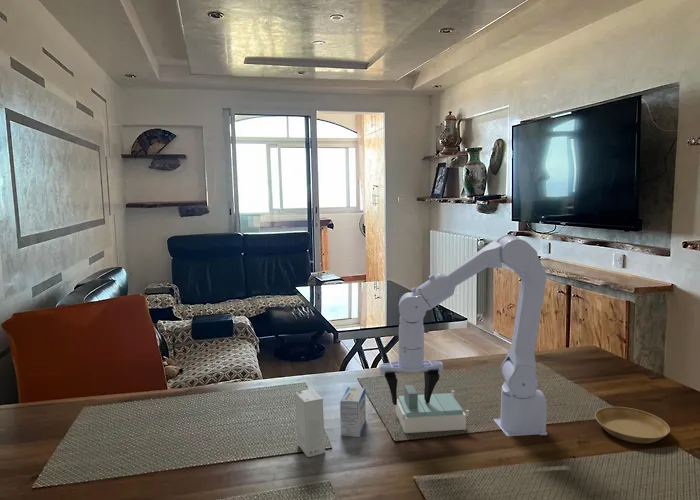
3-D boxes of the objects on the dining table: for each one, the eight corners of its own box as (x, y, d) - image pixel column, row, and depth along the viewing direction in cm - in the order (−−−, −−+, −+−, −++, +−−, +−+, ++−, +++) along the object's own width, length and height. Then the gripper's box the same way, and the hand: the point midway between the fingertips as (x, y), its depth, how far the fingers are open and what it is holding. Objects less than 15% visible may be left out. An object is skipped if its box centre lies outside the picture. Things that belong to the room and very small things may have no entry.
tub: (453, 410, 124) (453, 390, 123) (468, 432, 113) (469, 410, 112) (393, 413, 122) (393, 393, 121) (402, 436, 111) (403, 414, 110)
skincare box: (326, 453, 105) (325, 398, 103) (305, 458, 103) (304, 402, 101) (315, 439, 110) (314, 387, 109) (295, 444, 108) (294, 391, 107)
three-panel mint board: (450, 397, 122) (451, 379, 121) (462, 414, 113) (463, 395, 112) (398, 399, 121) (398, 382, 120) (406, 417, 112) (406, 398, 111)
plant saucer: (592, 439, 110) (593, 428, 110) (595, 411, 123) (596, 401, 123) (672, 456, 103) (673, 444, 103) (666, 424, 116) (667, 414, 116)
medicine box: (360, 439, 110) (359, 402, 109) (340, 437, 111) (339, 400, 110) (366, 422, 118) (365, 387, 117) (347, 420, 119) (347, 386, 118)
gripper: (437, 338, 119) (436, 393, 121) (377, 341, 117) (377, 396, 119) (446, 348, 112) (445, 406, 114) (382, 351, 110) (382, 409, 112)
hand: (410, 402), depth 116 cm, fingers open, 7 cm apart
